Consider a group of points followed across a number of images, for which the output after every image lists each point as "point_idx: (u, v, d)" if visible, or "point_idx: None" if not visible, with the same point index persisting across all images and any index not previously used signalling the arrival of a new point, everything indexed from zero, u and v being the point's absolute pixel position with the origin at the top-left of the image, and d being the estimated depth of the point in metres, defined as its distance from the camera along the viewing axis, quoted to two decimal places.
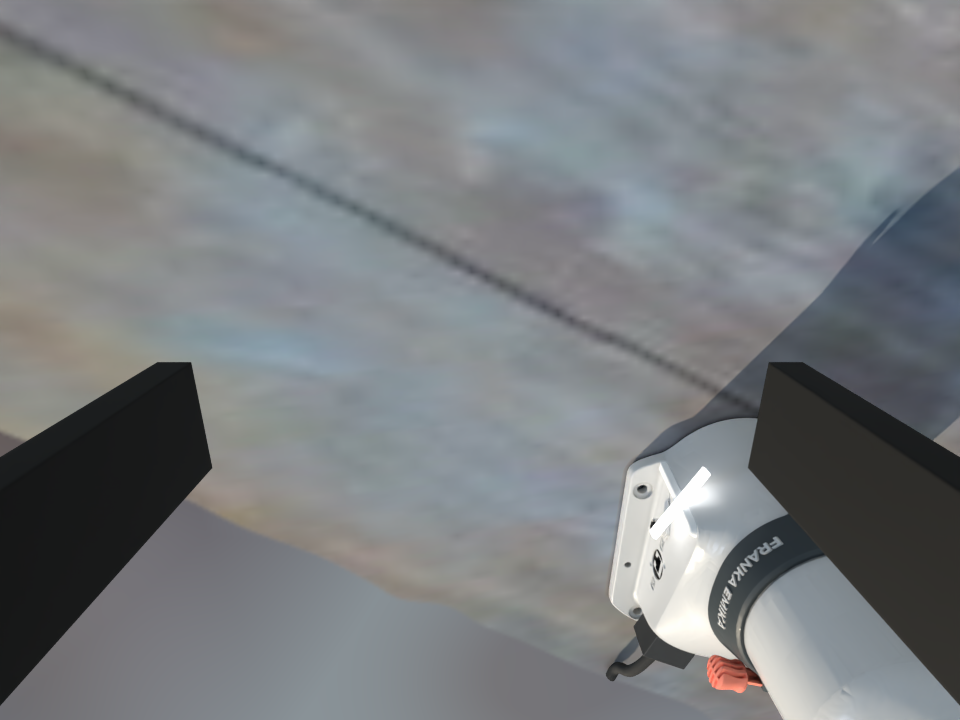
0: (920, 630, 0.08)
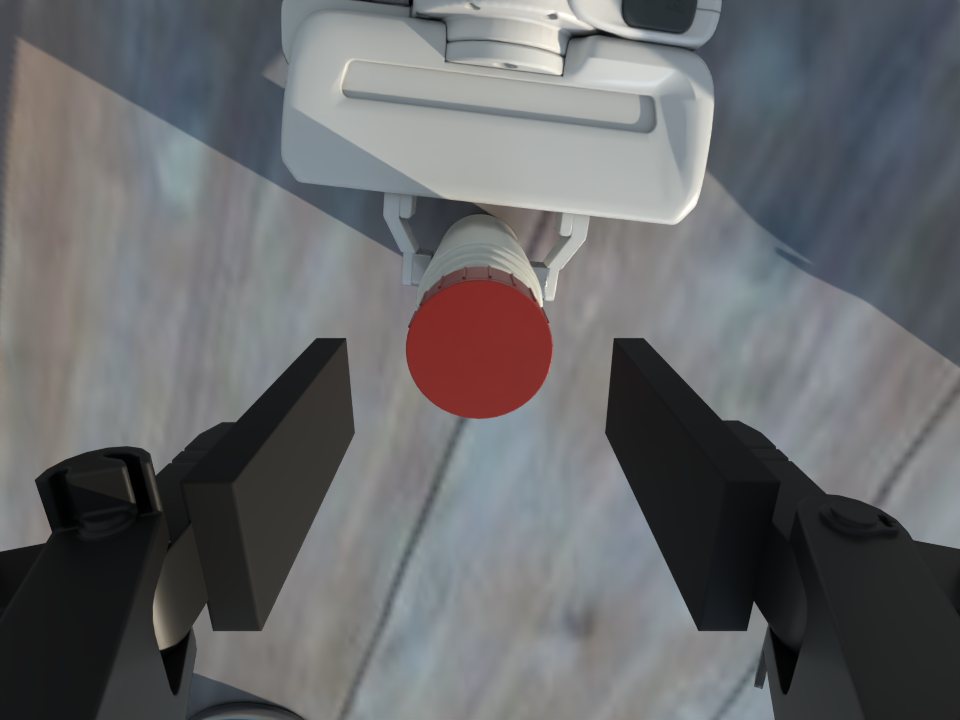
0: (671, 548, 0.09)
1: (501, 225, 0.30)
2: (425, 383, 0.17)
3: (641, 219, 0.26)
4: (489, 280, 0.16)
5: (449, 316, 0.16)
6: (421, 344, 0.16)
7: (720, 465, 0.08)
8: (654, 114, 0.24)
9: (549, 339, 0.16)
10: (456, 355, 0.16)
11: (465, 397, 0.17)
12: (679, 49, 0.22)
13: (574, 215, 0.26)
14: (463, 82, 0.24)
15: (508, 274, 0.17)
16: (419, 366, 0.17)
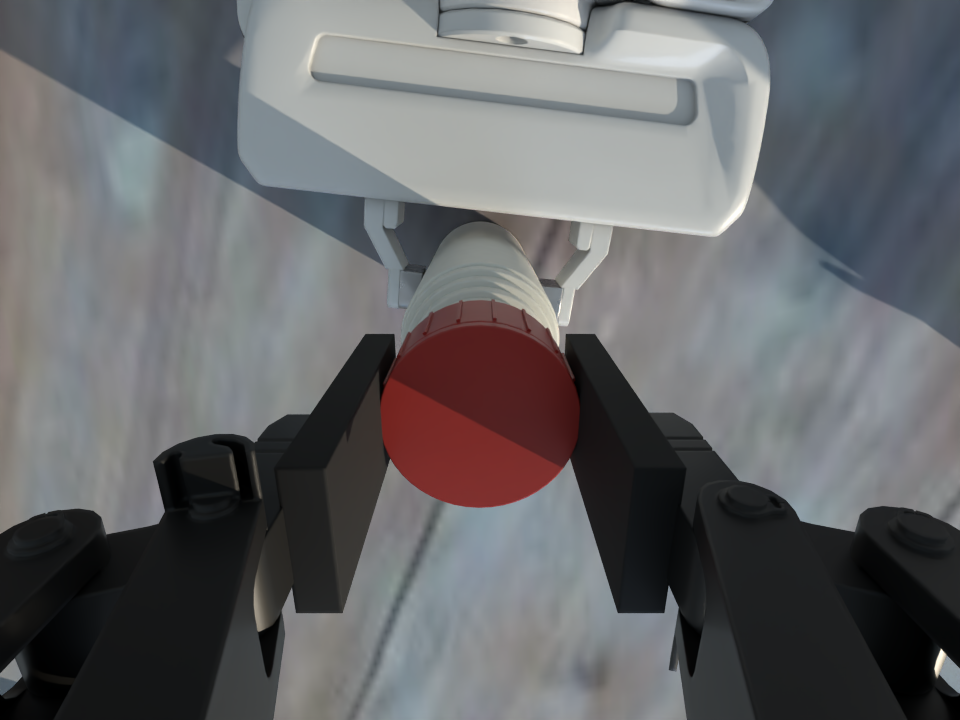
0: (601, 536, 0.10)
1: (505, 235, 0.26)
2: (406, 462, 0.12)
3: (676, 230, 0.21)
4: (494, 325, 0.11)
5: (438, 374, 0.12)
6: (399, 411, 0.12)
7: (634, 453, 0.08)
8: (694, 102, 0.20)
9: (576, 405, 0.12)
10: (447, 426, 0.12)
11: (460, 480, 0.12)
12: (730, 20, 0.18)
13: (594, 225, 0.22)
14: (460, 62, 0.19)
15: (519, 311, 0.13)
16: (397, 440, 0.12)
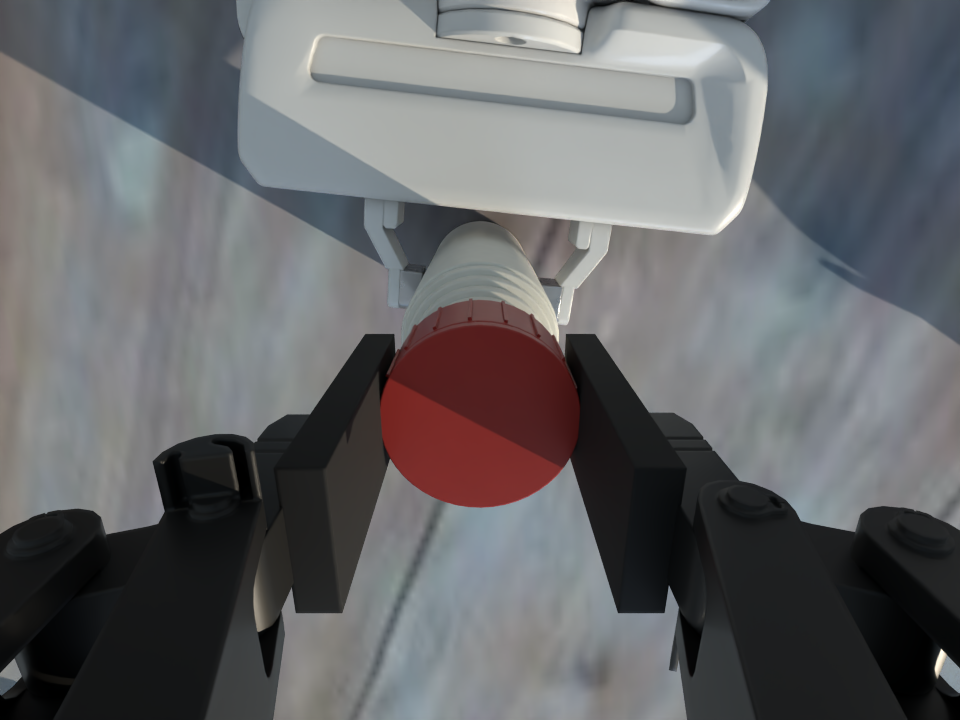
0: (601, 536, 0.10)
1: (505, 235, 0.26)
2: (549, 467, 0.12)
3: (674, 229, 0.21)
4: (384, 446, 0.12)
5: (449, 472, 0.12)
6: (499, 489, 0.12)
7: (634, 453, 0.08)
8: (692, 101, 0.20)
9: (420, 348, 0.11)
10: (496, 447, 0.12)
11: (549, 415, 0.12)
12: (727, 19, 0.18)
13: (593, 224, 0.22)
14: (459, 62, 0.19)
15: None
16: (529, 481, 0.12)
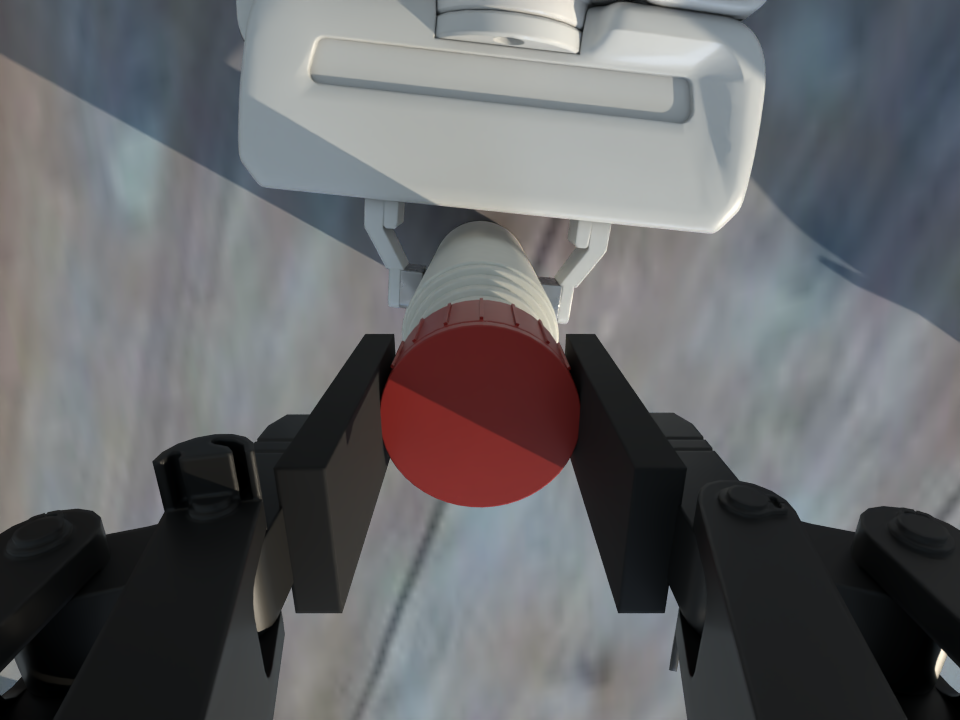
0: (601, 535, 0.10)
1: (504, 234, 0.26)
2: (499, 340, 0.11)
3: (673, 227, 0.21)
4: (541, 487, 0.13)
5: (545, 427, 0.12)
6: (545, 376, 0.12)
7: (634, 453, 0.08)
8: (690, 100, 0.20)
9: (432, 494, 0.13)
10: (499, 398, 0.12)
11: (442, 366, 0.11)
12: (724, 18, 0.18)
13: (592, 223, 0.22)
14: (458, 63, 0.19)
15: None
16: (524, 352, 0.11)
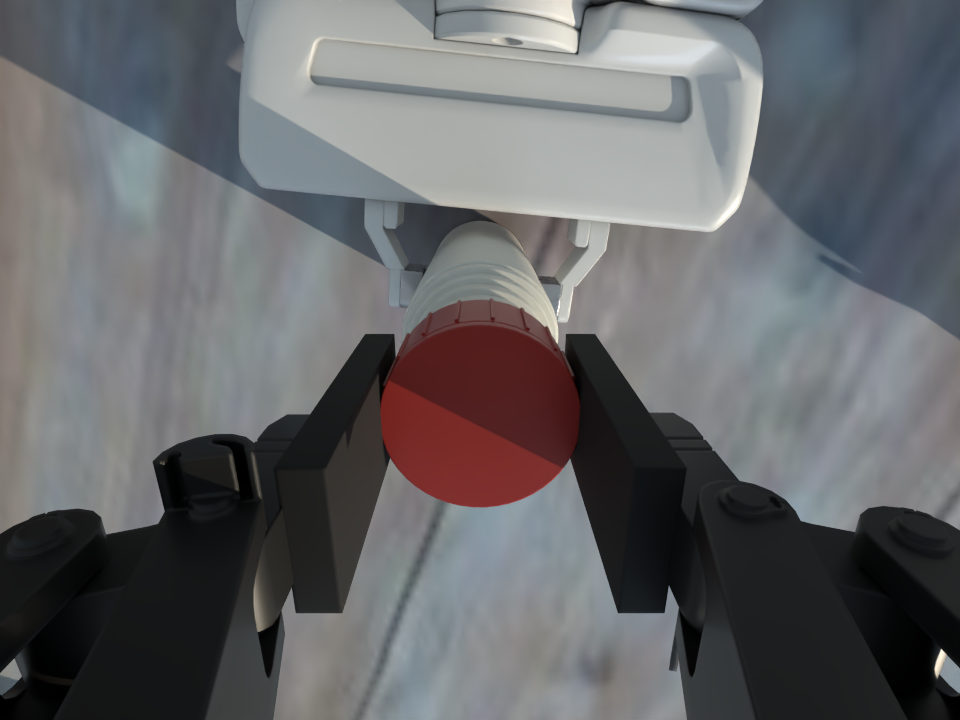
0: (601, 535, 0.10)
1: (504, 234, 0.26)
2: (394, 439, 0.12)
3: (672, 226, 0.21)
4: (527, 335, 0.11)
5: (458, 364, 0.11)
6: (407, 388, 0.12)
7: (634, 453, 0.08)
8: (688, 99, 0.20)
9: (576, 434, 0.12)
10: (448, 416, 0.12)
11: (441, 472, 0.12)
12: (722, 17, 0.18)
13: (592, 222, 0.22)
14: (457, 63, 0.20)
15: (543, 327, 0.13)
16: (394, 415, 0.12)
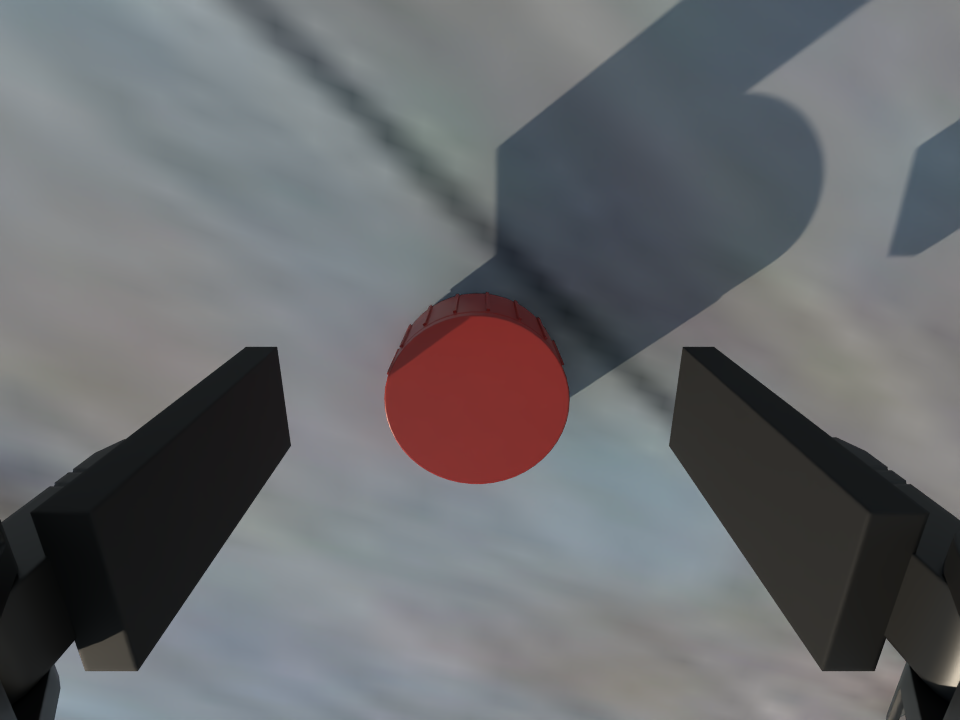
0: (777, 577, 0.09)
1: None
2: (398, 420, 0.13)
3: None
4: (519, 324, 0.12)
5: (456, 351, 0.13)
6: (410, 373, 0.13)
7: (854, 492, 0.07)
8: None
9: (565, 415, 0.13)
10: (448, 399, 0.13)
11: (441, 451, 0.13)
12: None
13: None
14: None
15: (535, 318, 0.14)
16: (398, 398, 0.13)
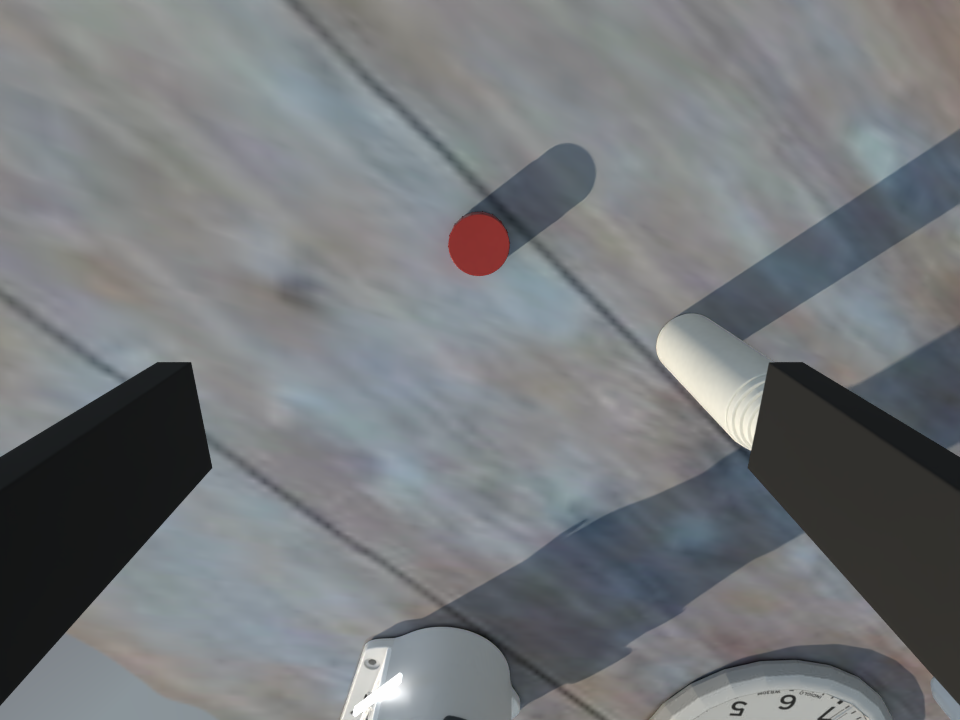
0: (921, 631, 0.08)
1: None
2: (453, 251, 0.40)
3: None
4: (492, 217, 0.39)
5: (472, 226, 0.39)
6: (457, 234, 0.39)
7: None
8: None
9: (508, 249, 0.40)
10: (469, 243, 0.39)
11: (467, 262, 0.40)
12: None
13: None
14: None
15: (499, 220, 0.41)
16: (453, 243, 0.39)
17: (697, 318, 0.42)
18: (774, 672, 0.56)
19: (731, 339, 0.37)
